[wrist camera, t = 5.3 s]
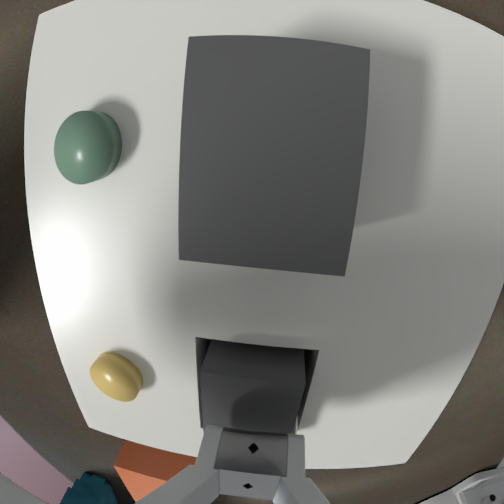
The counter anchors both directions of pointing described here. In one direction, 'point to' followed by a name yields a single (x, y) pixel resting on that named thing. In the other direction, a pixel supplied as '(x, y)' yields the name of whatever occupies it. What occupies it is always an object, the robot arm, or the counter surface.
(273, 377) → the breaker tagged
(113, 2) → the box
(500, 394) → the counter surface
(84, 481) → the handheld gaming console
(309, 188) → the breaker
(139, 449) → the cap
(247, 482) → the robot arm
